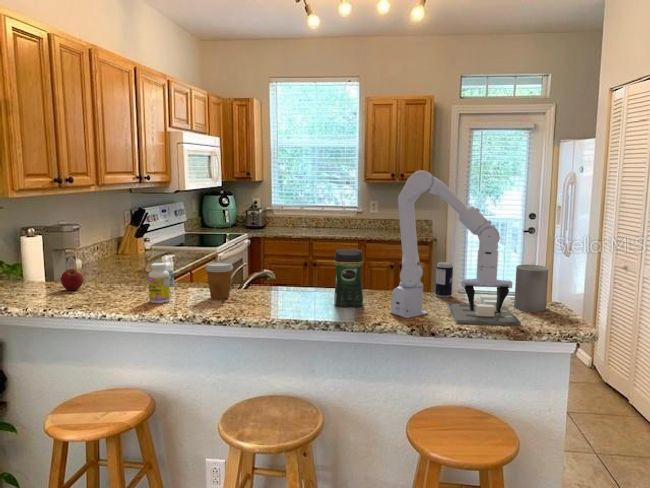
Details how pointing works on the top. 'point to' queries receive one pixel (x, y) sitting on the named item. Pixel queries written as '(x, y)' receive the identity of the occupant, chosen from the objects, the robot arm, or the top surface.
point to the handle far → (486, 298)
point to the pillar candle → (531, 288)
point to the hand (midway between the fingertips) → (484, 310)
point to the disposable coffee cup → (219, 279)
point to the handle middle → (491, 303)
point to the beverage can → (444, 279)
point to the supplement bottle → (159, 283)
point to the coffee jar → (348, 278)
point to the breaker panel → (469, 317)
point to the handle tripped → (484, 310)
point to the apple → (72, 279)
